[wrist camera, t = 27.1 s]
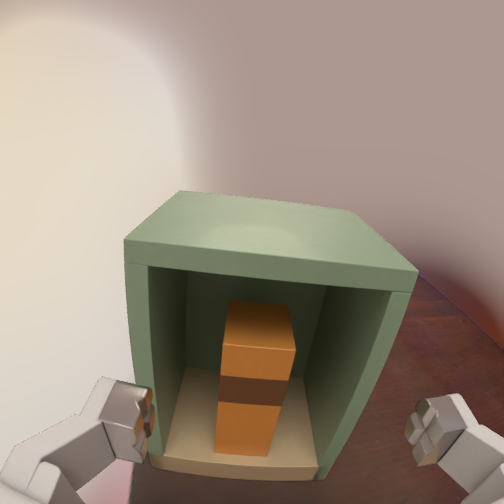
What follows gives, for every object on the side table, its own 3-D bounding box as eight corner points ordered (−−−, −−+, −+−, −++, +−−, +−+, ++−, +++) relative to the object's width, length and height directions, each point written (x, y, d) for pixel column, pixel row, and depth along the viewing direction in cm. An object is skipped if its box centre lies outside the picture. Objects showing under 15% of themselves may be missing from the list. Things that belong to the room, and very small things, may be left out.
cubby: (323, 479, 21) (419, 271, 14) (152, 467, 20) (123, 238, 14) (307, 386, 32) (352, 211, 25) (176, 374, 32) (179, 190, 25)
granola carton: (267, 457, 21) (297, 350, 17) (213, 453, 21) (222, 344, 17) (265, 411, 25) (288, 304, 22) (218, 407, 25) (228, 298, 21)
